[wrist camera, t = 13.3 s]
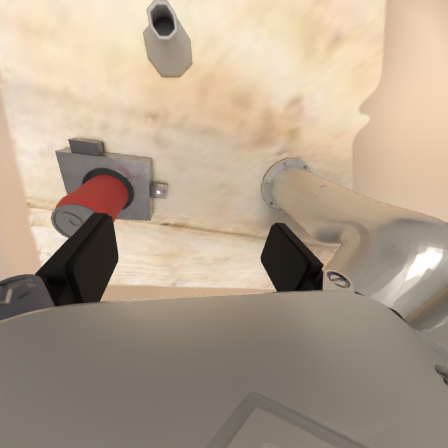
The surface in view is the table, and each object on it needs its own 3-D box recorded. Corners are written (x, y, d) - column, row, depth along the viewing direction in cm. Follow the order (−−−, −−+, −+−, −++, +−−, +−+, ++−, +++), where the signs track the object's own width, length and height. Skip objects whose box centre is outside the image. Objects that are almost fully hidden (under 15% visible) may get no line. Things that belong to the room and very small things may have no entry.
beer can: (108, 166, 31) (71, 190, 21) (137, 195, 34) (118, 228, 24) (80, 187, 32) (31, 220, 22) (111, 213, 35) (82, 252, 25)
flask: (199, 68, 30) (205, 49, 21) (160, 85, 30) (151, 73, 22) (179, 7, 26) (177, -46, 18) (134, 27, 26) (110, -16, 18)
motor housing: (167, 150, 35) (165, 154, 32) (166, 212, 42) (165, 222, 38) (65, 135, 31) (49, 137, 27) (82, 207, 38) (72, 217, 34)
